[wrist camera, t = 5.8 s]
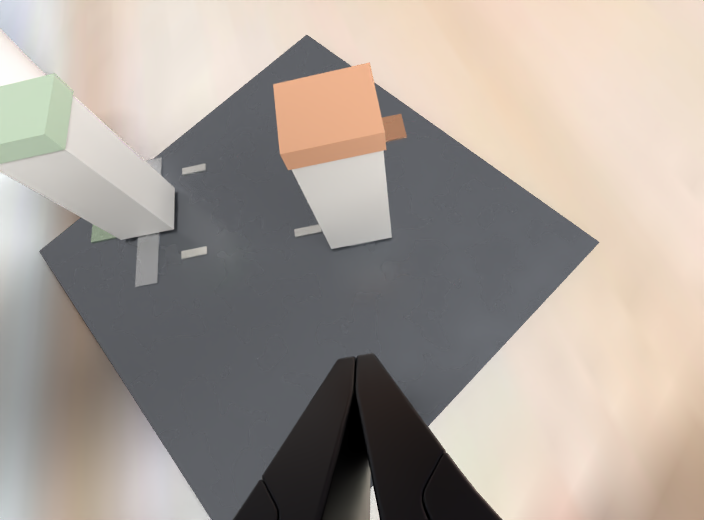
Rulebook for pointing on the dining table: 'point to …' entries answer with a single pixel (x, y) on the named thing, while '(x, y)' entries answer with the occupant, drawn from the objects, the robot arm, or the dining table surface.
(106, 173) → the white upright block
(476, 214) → the switch panel
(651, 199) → the dining table surface
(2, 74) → the white rounded cylinder
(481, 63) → the dining table surface
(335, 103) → the terracotta slider
